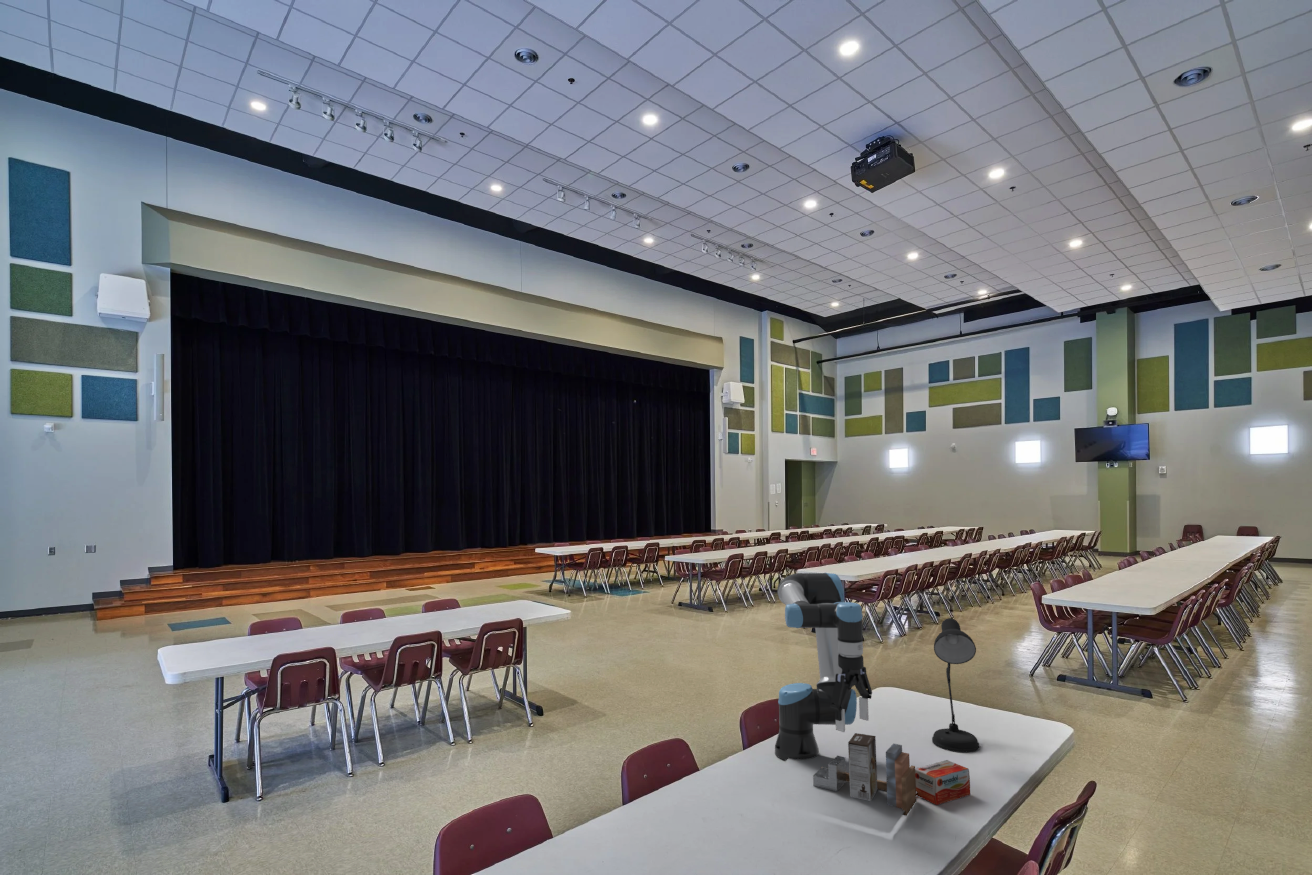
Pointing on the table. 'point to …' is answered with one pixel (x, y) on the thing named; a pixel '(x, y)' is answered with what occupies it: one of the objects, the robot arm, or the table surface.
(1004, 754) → the table surface
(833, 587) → the robot arm
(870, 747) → the coffee box
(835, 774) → the grey stepped block
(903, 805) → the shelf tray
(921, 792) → the medicine box
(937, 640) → the desk lamp
